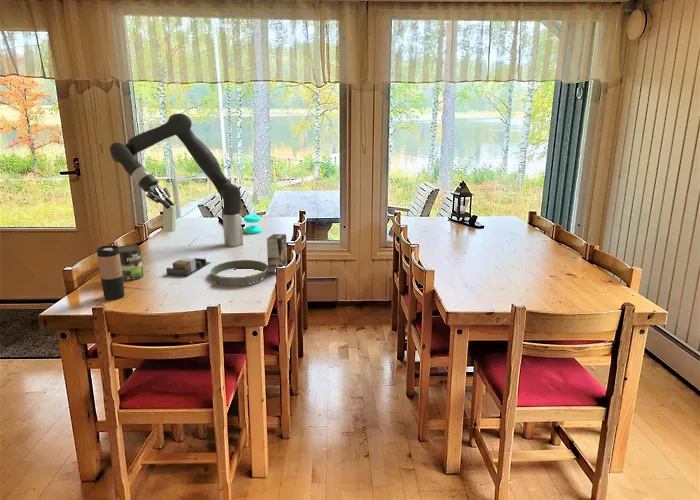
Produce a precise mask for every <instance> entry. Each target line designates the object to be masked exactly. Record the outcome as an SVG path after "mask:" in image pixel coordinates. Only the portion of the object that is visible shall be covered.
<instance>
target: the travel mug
mask: <svg viewBox="0 0 700 500" xmlns="http://www.w3.org/2000/svg"><path fill="white" fill-rule="evenodd" d="M118 247H119V246H118V245H103V246H100V247H97V248H96V254H97V261H98V268H99V275H100V282H101V286H102V292H103V296H104V300H107V301H116V300H117V301H118V300H120V299H122V298H124V297H125V287H124V285H125V284H124V281H123V275H122V268H121V261H120V255H119V248H118Z"/></svg>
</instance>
